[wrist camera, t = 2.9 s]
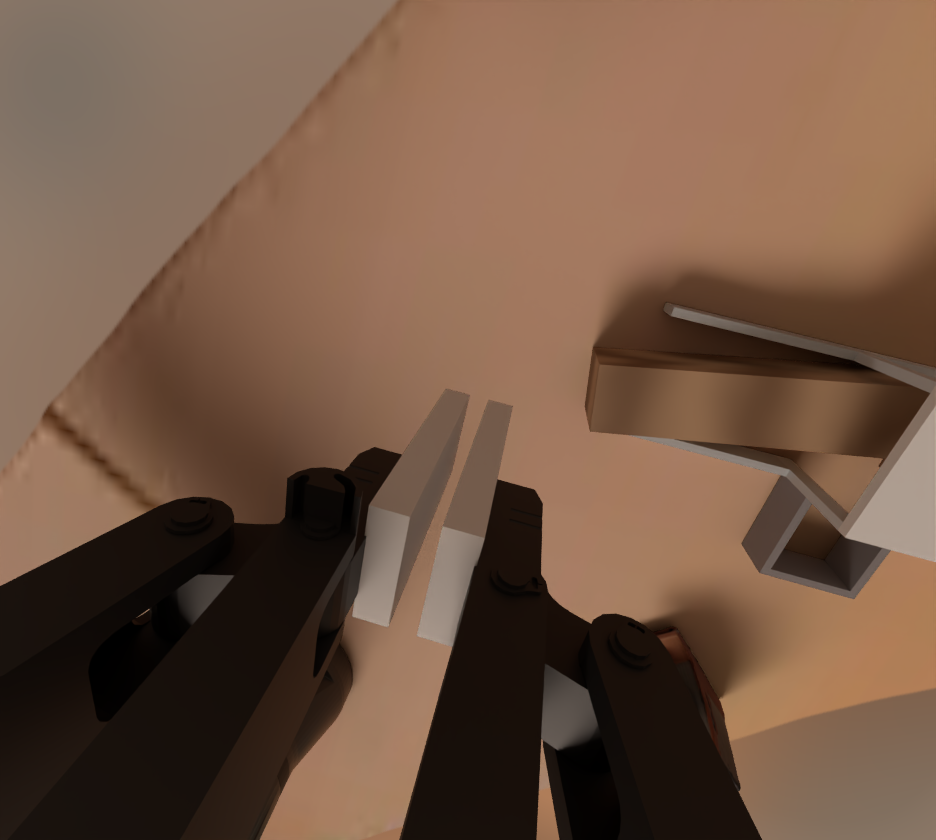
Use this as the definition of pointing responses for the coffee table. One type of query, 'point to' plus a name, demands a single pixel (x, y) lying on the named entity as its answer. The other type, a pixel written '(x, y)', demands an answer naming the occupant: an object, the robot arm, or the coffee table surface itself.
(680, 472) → the coffee table surface
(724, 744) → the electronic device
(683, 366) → the rod
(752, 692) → the coffee table surface
